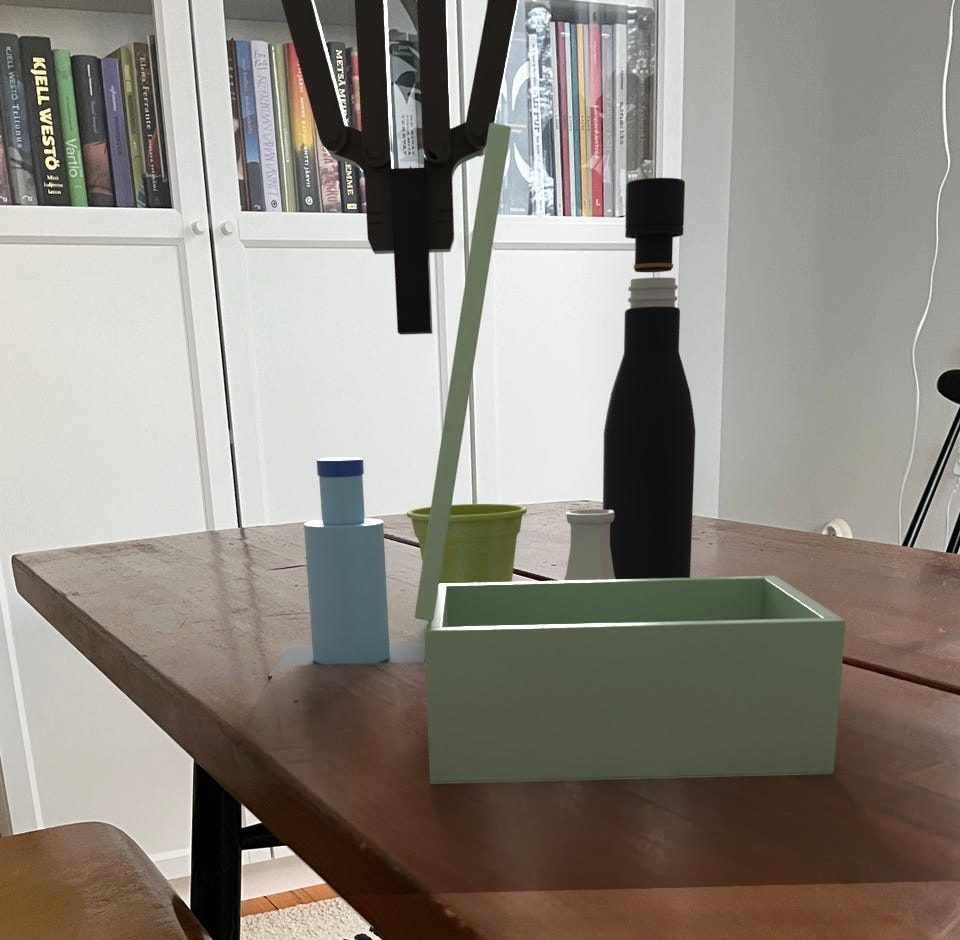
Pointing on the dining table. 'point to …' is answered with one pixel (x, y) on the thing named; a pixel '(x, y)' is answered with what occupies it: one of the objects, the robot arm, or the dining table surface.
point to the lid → (462, 366)
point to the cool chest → (631, 680)
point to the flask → (590, 545)
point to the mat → (397, 655)
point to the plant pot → (475, 541)
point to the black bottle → (651, 403)
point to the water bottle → (346, 571)
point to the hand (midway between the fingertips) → (415, 332)
